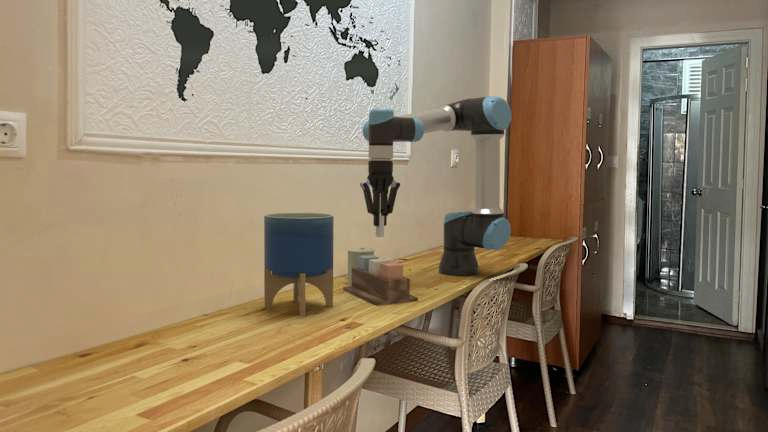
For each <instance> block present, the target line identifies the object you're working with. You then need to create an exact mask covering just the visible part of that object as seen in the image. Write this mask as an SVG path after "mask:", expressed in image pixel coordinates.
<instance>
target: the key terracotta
mask: <svg viewBox="0 0 768 432" xmlns="http://www.w3.org/2000/svg"><path fill="white" fill-rule="evenodd" d="M380 277H381V278H383V279H386V280H392V279H403V277H404V264H401V263H398V262H395V261H394V262H390V263H380Z"/></svg>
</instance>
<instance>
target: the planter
mask: <svg viewBox="0 0 768 432" xmlns="http://www.w3.org/2000/svg"><path fill="white" fill-rule="evenodd" d="M263 216H264V220H263V221H264V222H263V228H264V230H263V238H264V240H263V241H264V243H263V244H264V251H263V252H264V253H263V257H264V263H263V265H264V266H263V267H264V268H263V269H264V270H263V272H264V273H263V274H264V276H263V279H264V280H263V283H264V285H263V287H264V289H263V291H264V301H263V302H264V303H263V304H264V306H263V307H264V310H272V309H273V307H272V306H273V302H274V299H275V298H276V296H277V294H278V293H279V292H280V291H281V290H282V289H283V288H285V287H286V286H288V285H291V284H293V286H292V287H293V288H292V289H293V292H292V294H293V302H298V303H299V304H298V305H299V308H298V309H299V316H300V317H302V316H303V317H304V316H306V284H310V285H312V286H314V287H316V288H317V289H318V290H319V291H320V292H321V294H322V295H323V297H324V301H325V306H326V308H328V307H330V308H331V307H334V219H335V218H334V214H332V213H325V212H310V211H307V212H300V211H292V212H291V211H290V212H273V213H267V214H266V213H265V214H264V215H263Z"/></svg>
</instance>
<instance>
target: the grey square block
mask: <svg viewBox="0 0 768 432" xmlns="http://www.w3.org/2000/svg"><path fill="white" fill-rule="evenodd" d="M371 259H380V257H378V256H376V255H374V256H373V255H366V256H358V269H359V270H362V271H369V260H371Z"/></svg>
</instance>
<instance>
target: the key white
mask: <svg viewBox="0 0 768 432" xmlns="http://www.w3.org/2000/svg"><path fill="white" fill-rule="evenodd" d="M380 263H391V260H388V259H385V258H379V259H371V260H369V273H370V274H373V275H380Z"/></svg>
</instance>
